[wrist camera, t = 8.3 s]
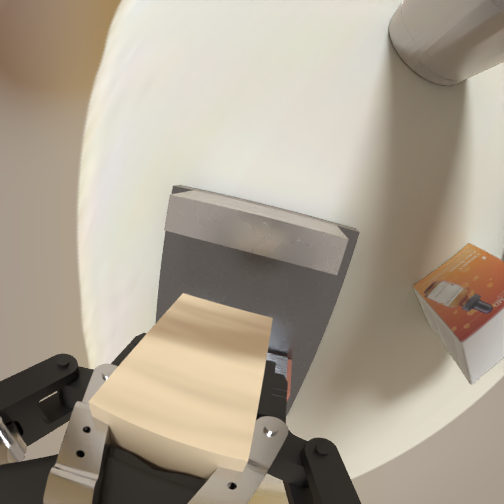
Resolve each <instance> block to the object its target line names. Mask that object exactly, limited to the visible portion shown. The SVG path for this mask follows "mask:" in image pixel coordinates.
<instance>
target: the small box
mask: <svg viewBox="0 0 504 504" xmlns="http://www.w3.org/2000/svg"><path fill="white" fill-rule="evenodd" d="M413 289H414V291H415V294H416V296H417V298H418V301H419V303H420V305H421V308H422V310H423V312H424V315H425V317H426V319H427V322H428V324H429V326H430V327H431V328H432V330H433V331H434V332H435V334H436V335H437V337H438V338H439V339H440V341H441V342H442V344H443V345H444V346H445V348H446V349H447V351H448V352H449V353H450V355H451V356H452V358H453V359H454V361H455V362H456V363H457V365H458V366H459V368H460V369H461V371H462V372H463V374H464V375H465V377H466V379H467V380H468V382H469V383H470V384H473V383H475V382H476V381H477V380H478V379H480V377H481V376H483V375H484V374H485V373H486V372H487V371H489V370H490V369H491V368H492V367H494V366H495V365H496V364H497V363H498V362H500V361H501V360H502V359H503V358H504V261H502V260H501V259H499V258H497V257H495V256H493V255H492V254H490V253H488V252H486V251H484V250H482V249H480V248H478V247H477V246H475V245H473V244H471V243H468V244H467V245H466V246H465V247H464V248H463V249H462V250H460V251H459V252H458V253H457V254H456V255H454V256H453V257H452V258H450V259H449V260H448V261H447V262H445V263H444V264H443V265H441V266H440V267H439V268H437V269H436V270H434V271H433V272H432V273H430V274H429V275H427V276H426V277H425V278H423V279H422V280H420V281H418V282H417V283H416V284H414V285H413Z"/></svg>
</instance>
